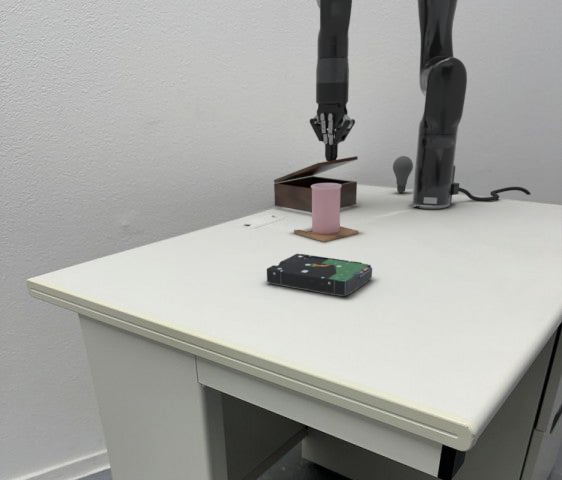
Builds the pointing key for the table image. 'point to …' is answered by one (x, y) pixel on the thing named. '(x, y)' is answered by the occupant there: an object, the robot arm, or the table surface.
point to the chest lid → (315, 169)
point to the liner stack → (326, 208)
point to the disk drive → (320, 274)
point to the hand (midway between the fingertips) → (331, 160)
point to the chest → (310, 192)
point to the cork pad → (327, 237)
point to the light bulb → (402, 171)
